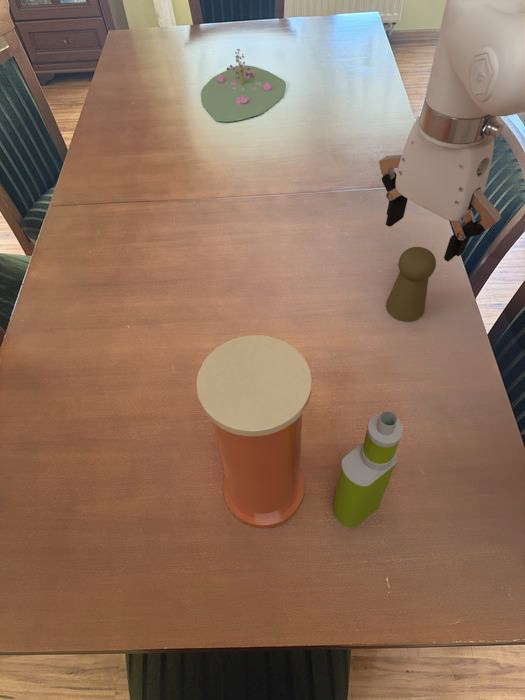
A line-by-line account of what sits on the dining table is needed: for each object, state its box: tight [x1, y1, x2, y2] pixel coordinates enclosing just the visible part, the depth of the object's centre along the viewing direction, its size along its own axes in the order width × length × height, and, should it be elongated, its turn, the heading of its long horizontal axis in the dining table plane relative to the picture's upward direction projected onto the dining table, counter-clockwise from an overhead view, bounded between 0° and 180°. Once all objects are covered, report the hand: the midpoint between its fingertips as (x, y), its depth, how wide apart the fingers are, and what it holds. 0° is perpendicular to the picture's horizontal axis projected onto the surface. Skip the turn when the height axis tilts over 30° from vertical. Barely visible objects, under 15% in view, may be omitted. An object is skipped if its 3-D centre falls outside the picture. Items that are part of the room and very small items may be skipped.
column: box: [196, 334, 313, 529], centre depth 54 cm, size 10×10×24 cm
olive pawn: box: [385, 246, 437, 323], centre depth 76 cm, size 6×6×11 cm
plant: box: [200, 48, 286, 123], centre depth 120 cm, size 25×21×9 cm
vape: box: [332, 410, 404, 529], centre depth 53 cm, size 4×6×20 cm, turn 127°
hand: (422, 238), depth 70 cm, fingers open, 9 cm apart
